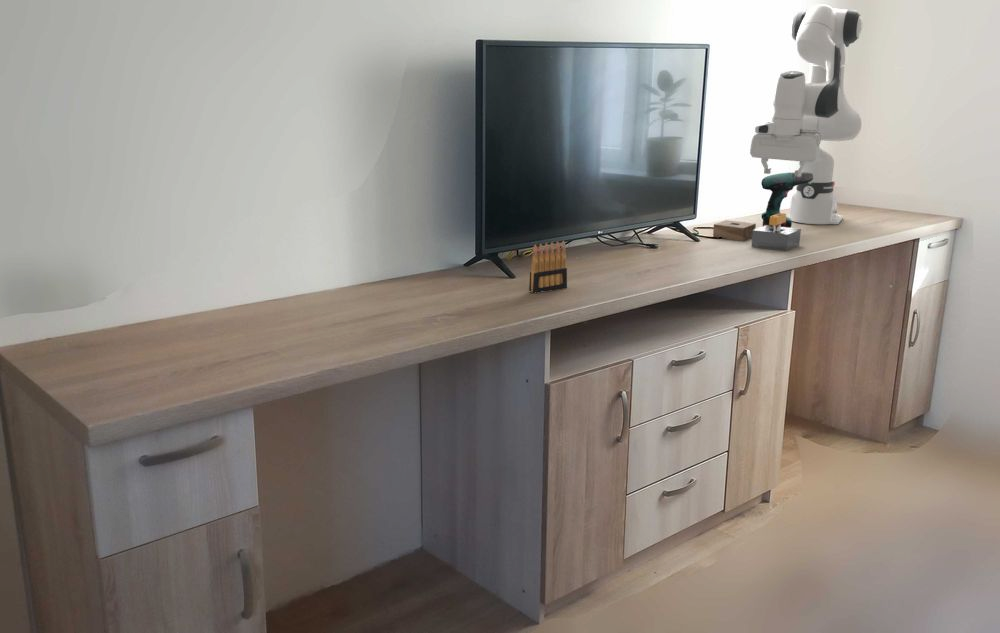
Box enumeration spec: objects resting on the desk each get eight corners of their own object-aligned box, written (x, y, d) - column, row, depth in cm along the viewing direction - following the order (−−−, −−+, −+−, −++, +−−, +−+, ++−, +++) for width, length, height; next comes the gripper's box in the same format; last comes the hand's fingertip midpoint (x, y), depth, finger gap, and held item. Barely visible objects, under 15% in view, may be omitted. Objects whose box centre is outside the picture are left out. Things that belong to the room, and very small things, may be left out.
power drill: (810, 235, 309) (817, 173, 304) (759, 234, 309) (765, 172, 304) (804, 231, 316) (810, 170, 311) (754, 230, 316) (760, 169, 311)
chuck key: (776, 243, 296) (779, 212, 293) (783, 244, 295) (786, 213, 292) (767, 247, 290) (769, 216, 287) (774, 248, 288) (776, 217, 286)
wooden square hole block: (725, 232, 313) (726, 220, 311) (754, 235, 307) (755, 223, 306) (712, 236, 305) (713, 224, 304) (742, 240, 299) (743, 228, 298)
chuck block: (764, 240, 300) (766, 225, 298) (799, 245, 293) (801, 229, 292) (751, 246, 291) (752, 230, 290) (786, 251, 285) (788, 234, 283)
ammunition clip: (533, 293, 232) (534, 245, 229) (528, 292, 233) (529, 244, 230) (567, 287, 238) (568, 240, 235) (562, 286, 239) (563, 239, 236)
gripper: (825, 129, 279) (820, 177, 283) (758, 125, 291) (754, 170, 294) (818, 131, 274) (813, 179, 278) (750, 126, 286) (746, 173, 290)
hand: (782, 175), depth 286 cm, fingers open, 8 cm apart
